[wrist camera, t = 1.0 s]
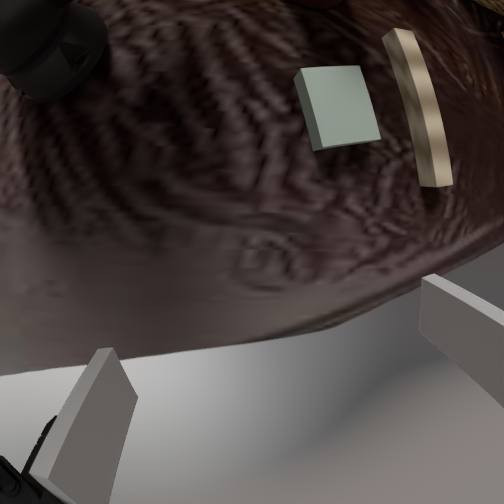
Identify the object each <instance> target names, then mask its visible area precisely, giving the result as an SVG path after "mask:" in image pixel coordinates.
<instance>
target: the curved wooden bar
mask: <svg viewBox="0 0 504 504" xmlns="http://www.w3.org/2000/svg"><path fill="white" fill-rule="evenodd" d="M382 40H383V43H384V46H385V48H386V51H387V54H388V56H389V59H390V62H391V65H392V68H393V71H394V74H395V77H396V80H397V83H398V86H399V90H400V93H401V97H402V100H403V104H404V108H405V111H406V115H407V119H408V124H409V128H410V132H411V137H412V142H413V147H414V152H415V157H416V163H417V169H418V176H419V183H420V186H426V187H441V186H446V185H452V184H453V181H452V173H451V166H450V160H449V154H448V148H447V143H446V138H445V133H444V128H443V124H442V119H441V115H440V111H439V107H438V104H437V100H436V96H435V93H434V89H433V86H432V83H431V80H430V77H429V74H428V71H427V68H426V65H425V62H424V59H423V57H422V54H421V51H420V49H419V46H418V44H417V41H416V39H415V37H414V34H413V32H412V31H408V30H402V29H397V28H394V29H392V30H391V31H390V32H388V33H387V34H386V35H385V36H383V37H382Z"/></svg>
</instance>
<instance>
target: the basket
mask: <svg viewBox="0 0 504 504" xmlns="http://www.w3.org/2000/svg"><path fill="white" fill-rule="evenodd" d="M474 1H476V2H477V3H479V4H480V5H482V6H485V7H486V8H488V9H491V10H493V11H495V12H497V13H499V14H500V15H502V16H504V0H474Z"/></svg>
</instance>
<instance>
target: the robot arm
mask: <svg viewBox="0 0 504 504" xmlns="http://www.w3.org/2000/svg"><path fill="white" fill-rule="evenodd" d="M73 1H74V0H0V74H2V75H5V76H6V78H7V79H8V81H9V82H10V83H11V85H12V86H13V87H14V88H15V89H16V91H17V92H18V94H19V95H20V96H22V97H23V98H25V99H27V100H30V101H32V102H35V103H49V102H52V101H55V100H58V99H60V98H62V97H63V96H65V95H67V94H68V93H70V92H71V91H72V90H74V89H75V88H76V87H77V86H78V85H79V84H80V83H81V82H82V81H83V80H84V79H85V78H86V77H87V76H88V75H89V74H90V72H91V71H92V70H93V68H94V67H95V66H96V64H97V62H98V61H99V59H100V57H101V55H102V53H103V51H104V48H105V45H106V40H107V27H106V24H105V22H104V21H103V19H102V18H101V17H100V15H99V14H98V13H97V12H96V11H95V10H93V9H91V8H89V7H85V6H83V5H81V4H78V3H76V2H73ZM418 332H419V333H421V334H422V335H423V336H424V337H425V338H427V339H428V340H429V341H430V342H431V343H433V344H434V345H435V346H436V347H437V348H438V349H439V350H441V351H442V352H443V353H444V354H445V355H446V356H448V357H449V358H450V359H451V360H452V361H453V362H454V363H456V364H457V365H458V366H459V367H460V368H461V369H462V370H463V371H465V372H466V373H467V374H468V375H469V376H470V377H471V378H472V379H474V380H475V381H476V382H477V383H478V384H479V385H480V386H481V387H482V388H483V389H484V390H485V391H487V392H488V393H489V394H490V395H491V396H492V397H493V398H494V399H495V400H496V401H497V402H498V403H500V405H502V407H504V310H501V309H499V308H497V307H496V306H494V305H492V304H490V303H488V302H487V301H484V300H483V299H481V298H479V297H478V296H476V295H474V294H472V293H470V292H468V291H466V290H465V289H463V288H461V287H459V286H457V285H455V284H453V283H451V282H450V281H448V280H446V279H444V278H442V277H440V276H438V275H436V274H431V275H428V276H426V277H423V278H422V284H421V304H420V316H419V327H418ZM137 399H138V396H137V394H136V393H135V391H134V389H133V387H132V385H131V383H130V381H129V379H128V377H127V375H126V373H125V372H124V369H123V367H122V365H121V363H120V361H119V359H118V357H117V355H116V353H115V350H114V348H113V347H110V348H101V349H97V351H96V353H95V354H94V356H93V357H92V359H91V360H90V362H89V364H88V365H87V367H86V368H85V370H84V372H83V373H82V375H81V377H80V378H79V380H78V382H77V383H76V385H75V387H74V388H73V390H72V392H71V394H70V396H69V397H68V399H67V400H66V402H65V404H64V406H63V407H62V409H61V411H60V413H59V414H58V416H54V417H53V419H51V420H50V422H48V423H47V424H46V426H45V428H44V430H43V432H42V433H41V436H40V438H39V439H38V441H37V445H35V446H34V449H33V450H32V452H31V455H30V456H29V458H28V460H27V462H26V464H25V466H24V469H23V470H22V472H21V474H20V473H19V472H18V471H17V470H16V469H15V468H14V467H13V466H12V465H11V464H10V463H9V462H8V461H7V460H6V459H5V458H4V457H3V456H0V504H109V500H110V496H111V491H112V487H113V483H114V479H115V475H116V471H117V467H118V464H119V460H120V456H121V452H122V449H123V445H124V442H125V439H126V435H127V432H128V428H129V424H130V421H131V418H132V415H133V412H134V408H135V405H136V402H137Z"/></svg>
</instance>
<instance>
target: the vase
mask: <svg viewBox="0 0 504 504" xmlns="http://www.w3.org/2000/svg"><path fill="white" fill-rule="evenodd" d="M288 1H289V2H291V3H293V4H295V5H297V6H300V7H302V8H306V9H310V10H317V11H325V10H330V9H333V8H336V7H337V6H338V5H339V4H340V3H341V2H342V1H343V0H288Z"/></svg>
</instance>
